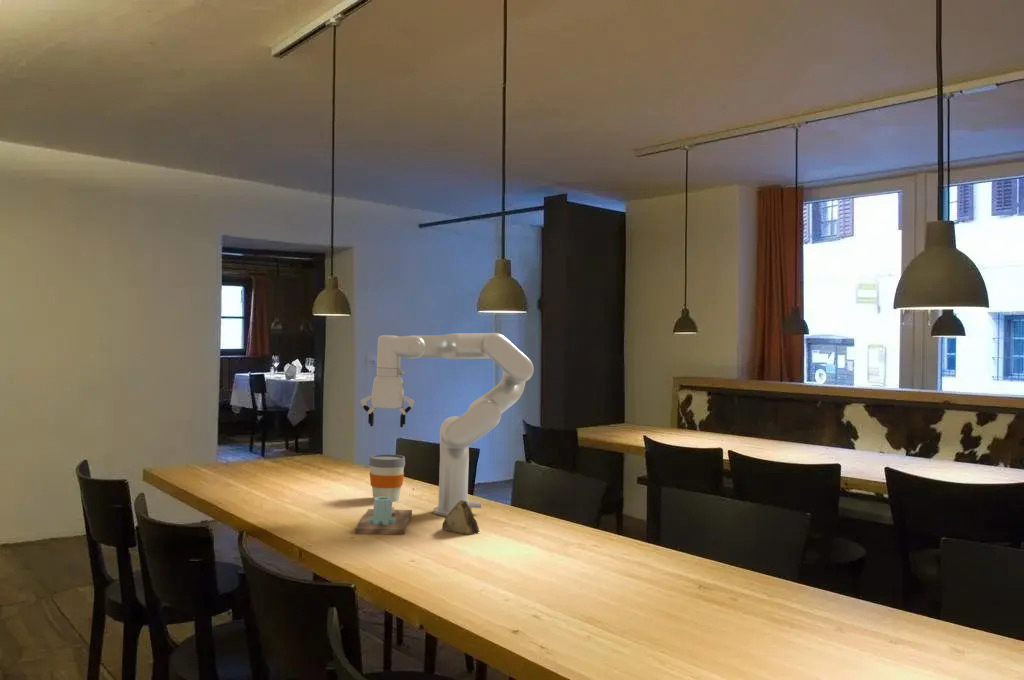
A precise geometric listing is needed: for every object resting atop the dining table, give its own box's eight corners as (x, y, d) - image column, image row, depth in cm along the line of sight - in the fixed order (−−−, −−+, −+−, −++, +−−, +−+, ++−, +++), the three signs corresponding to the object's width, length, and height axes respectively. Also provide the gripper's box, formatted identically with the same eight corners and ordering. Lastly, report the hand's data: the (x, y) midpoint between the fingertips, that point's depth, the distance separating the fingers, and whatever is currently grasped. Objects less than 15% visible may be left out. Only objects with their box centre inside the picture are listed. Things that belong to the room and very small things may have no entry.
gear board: (411, 514, 239) (412, 492, 239) (404, 534, 214) (404, 510, 214) (368, 513, 238) (369, 491, 239) (355, 533, 214) (356, 509, 214)
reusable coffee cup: (400, 504, 254) (402, 460, 254) (364, 502, 254) (365, 459, 255) (406, 496, 267) (408, 454, 267) (372, 495, 267) (373, 453, 267)
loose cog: (397, 518, 227) (398, 496, 227) (394, 525, 218) (395, 501, 218) (370, 518, 226) (371, 495, 226) (366, 524, 218) (367, 501, 218)
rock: (431, 522, 220) (449, 524, 212) (446, 497, 224) (463, 499, 216) (457, 541, 224) (475, 544, 216) (470, 516, 228) (489, 518, 220)
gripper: (416, 373, 243) (414, 425, 243) (363, 372, 242) (361, 424, 242) (414, 374, 236) (412, 428, 236) (359, 373, 235) (357, 427, 235)
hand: (386, 426), depth 239 cm, fingers open, 9 cm apart
